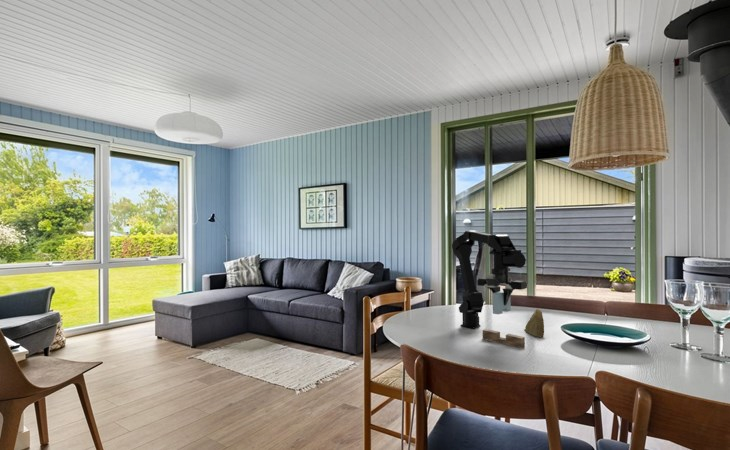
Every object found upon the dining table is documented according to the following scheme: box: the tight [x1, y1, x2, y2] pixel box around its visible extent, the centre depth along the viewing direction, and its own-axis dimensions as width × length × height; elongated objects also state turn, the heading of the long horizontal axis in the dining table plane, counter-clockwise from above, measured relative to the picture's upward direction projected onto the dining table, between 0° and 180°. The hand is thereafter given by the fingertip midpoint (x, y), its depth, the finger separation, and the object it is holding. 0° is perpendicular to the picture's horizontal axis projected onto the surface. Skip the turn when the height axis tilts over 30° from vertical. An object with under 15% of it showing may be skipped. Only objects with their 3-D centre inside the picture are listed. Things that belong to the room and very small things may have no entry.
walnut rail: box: [481, 328, 526, 349], centre depth 149 cm, size 16×2×4 cm, turn 42°
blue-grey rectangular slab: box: [491, 290, 512, 315], centre depth 155 cm, size 10×2×8 cm, turn 133°
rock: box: [524, 308, 545, 338], centre depth 160 cm, size 11×9×10 cm
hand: (501, 304), depth 155 cm, fingers closed on blue-grey rectangular slab, 2 cm apart
